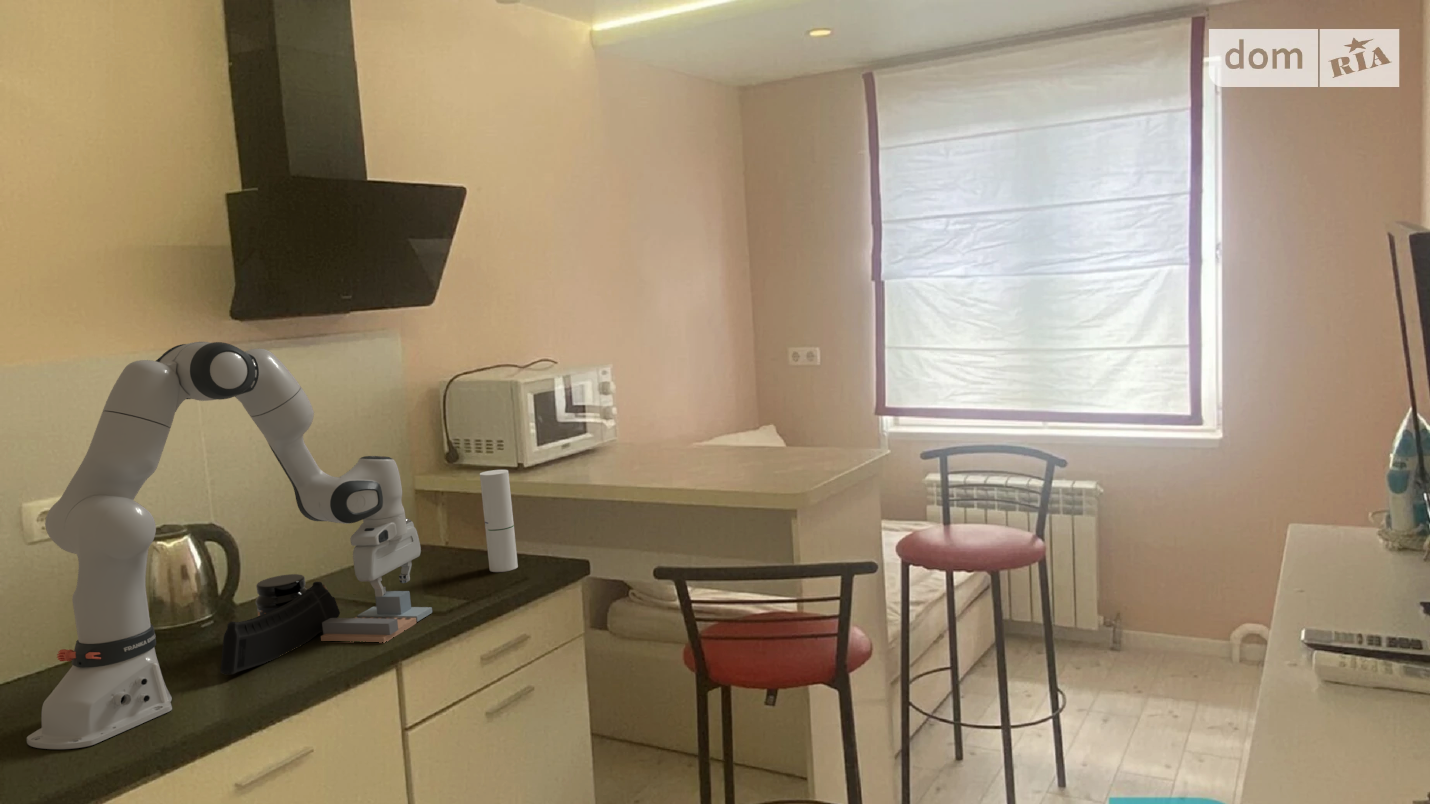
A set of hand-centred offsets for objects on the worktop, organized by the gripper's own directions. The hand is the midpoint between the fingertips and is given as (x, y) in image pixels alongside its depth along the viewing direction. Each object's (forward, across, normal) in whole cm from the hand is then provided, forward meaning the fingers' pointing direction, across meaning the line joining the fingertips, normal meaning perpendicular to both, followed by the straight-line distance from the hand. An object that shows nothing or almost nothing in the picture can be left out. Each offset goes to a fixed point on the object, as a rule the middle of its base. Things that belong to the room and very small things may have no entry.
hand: (393, 588), depth 218 cm
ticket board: (+6, +10, 0) cm, 12 cm away
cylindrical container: (+7, -38, +7) cm, 39 cm away
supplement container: (+6, +12, -19) cm, 24 cm away
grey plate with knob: (+6, 0, 0) cm, 6 cm away
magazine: (+6, +21, -12) cm, 25 cm away
